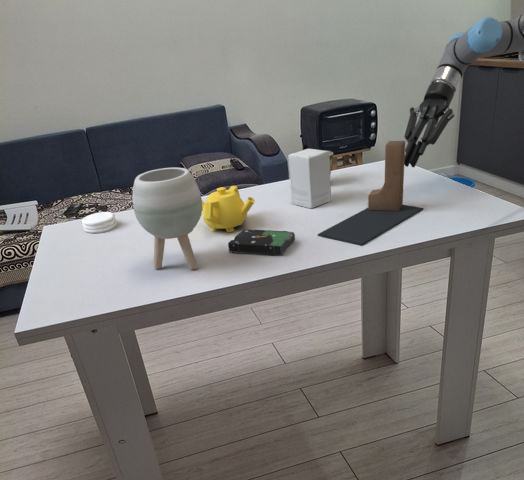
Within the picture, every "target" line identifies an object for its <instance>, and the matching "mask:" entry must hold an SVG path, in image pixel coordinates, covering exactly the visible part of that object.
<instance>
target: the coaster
mask: <svg viewBox="0 0 524 480" xmlns="http://www.w3.org/2000/svg"><path fill="white" fill-rule="evenodd" d="M81 223H82V227H83V230H84V232H86V233H89V234H100V233H104V232H105V233H106V232H109V231H111V230H113V229H114V228H115V227H117V224H118V222H117V219H116V214H114V213H113V212H110V211H101V212H94V213H91V214H89V215H86V216H85V217H83V218H82V219H81Z"/></svg>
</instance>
